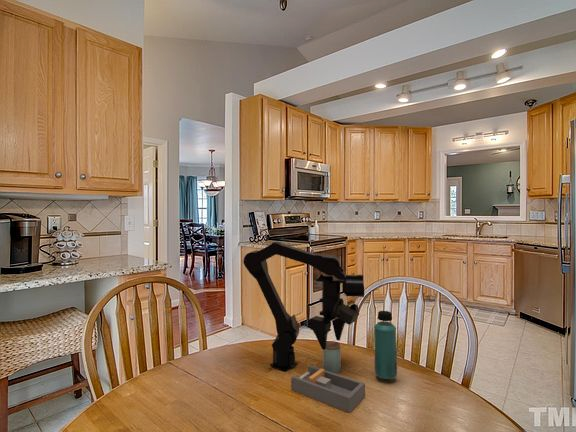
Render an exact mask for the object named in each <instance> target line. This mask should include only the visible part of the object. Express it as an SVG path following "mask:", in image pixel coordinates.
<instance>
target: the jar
mask: <svg viewBox="0 0 576 432" xmlns="http://www.w3.org/2000/svg"><path fill="white" fill-rule="evenodd" d="M341 353H342V352H341V344H340V343H339V342H338V341H334V340H328V341H327V343H326V349H325V350H324V349H322V369H324V370H326V371H329V372H332V373H336V374H339V373H341V371H342V369H341V368H342V366H341V363H342V360H341V358H342V357H341V356H342V354H341Z"/></svg>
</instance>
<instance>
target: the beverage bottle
mask: <svg viewBox="0 0 576 432" xmlns="http://www.w3.org/2000/svg"><path fill="white" fill-rule="evenodd" d="M377 320H379V321H378V322H376V323H375V324H374V326H373V327H374V344H373V345H374V373H375V375H376V376H377V377H379V378H380V379H384V380H394V379H395V378H396V377H397V375H398V359H397V358H398V356H397V353H398V352H397V327H396V326H395V325H394V323H392V322H390V321H392V320H393V316H392V312H391V311H387V310H379V311H378V312H377Z"/></svg>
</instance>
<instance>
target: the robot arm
mask: <svg viewBox="0 0 576 432" xmlns="http://www.w3.org/2000/svg"><path fill="white" fill-rule="evenodd" d="M275 255H277V256H280V257H284V258H286V259H290V260H293V261H297V262H298V263H302V264H306V265H309V266H311V267H313V268H314V269H315V270H317V271H318V272H321V273H320V275H319V276H318V277H316V279H315V281H316V283H317V282H318V283H319V282H321V298H319V303H321V310H320V311H319V315H315V316H313V317H310V318H309V319H308V320H307V328H308V329H309V330H311V331H312V332H313V333H314V335H315V338H316V339H317V341H318V344H319V345H320V348H321V350H323V349H324V350H325V349H326V343H327V340H328V334H329V332H331V331H332V328H331V327H333V332H334V336H335V339H336V341H337V342H338V341H340V340H341V338H342V335H343V331H344V327H345V325H346V324H347V325H352V324H353V323H355V322H356V321H357V317H359V316H360V313H359V312H360V310H359V305H358V304H356V303H353V304H347V305H346V303H345V304H344V299H343V298H341V291H342V293H343V294H344V295H345V297H357V298H364V297H365V284H364V282H365V281H364V274H347V273H346V272H345V270H344V269H343V268H342V266H341V260H340V259H339V258H338V256H336V255H334V254H325V253H315V252H312V251H309V250H308V251H307V250H305V249H301V248H298V247H295V246H292V245H289V244H285V243H282V242H281V241H274V242H272V243H271V244H269V245H267V246H266V247H264V248H262V249H260V250H258V249H257V250H253V251H250V252H247V253H246V254H245V255H244V258H243V260H242V261H243V265H244V266H245V268H246V270H247V271H248V273H249V275H251V276H252V277H253V278H254V279H255V280H256V282H257V283H258V286H259V289H260V290H261V292H262V295H263V296H264V299H265V301H266V304H267V305H268V308H269V309H270V311H271V313H272V316H273V318H274V322H275V328H276V333H277V335H276V337H275V339H274V340H273V342H272V343H271V347H272V359H273V360H272V363H270V364H269V366H270V368H275V369H278V370H280V371H283V372H287V371H288V370H290V369H291V368H293V367H295V366H296V365H297V362H296V353H295V348H294V346H293V345H294V344H295V343H296V341H297V339H298V337H299V334H300V327H301V325H300V323H299V322H298V321H297V317H296V315H295V314H293V315H290V314H289V313H288V311H287V310H286V308H285V305H284V304H283V302H282V299H281V297H280V294H279V293H278V291H277V289H276V286H275V284H274V282H273V280H272V278H271V276H270V274H269V273H270V272H269V267H268V261H267V260H268V259H270V258H272V257H274V256H275ZM341 283H342V288H341ZM341 289H342V290H341Z"/></svg>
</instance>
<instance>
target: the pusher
mask: <svg viewBox="0 0 576 432" xmlns="http://www.w3.org/2000/svg"><path fill="white" fill-rule="evenodd" d="M309 381H310V382H312V383H315V384H318V385H321V386H324V387H326V388H330V387H331V379H328V378H325V370H324V369H323V368H320V370H318V371H317V372H316V373H314V374H313V375H311V376H310V377H309Z"/></svg>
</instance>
